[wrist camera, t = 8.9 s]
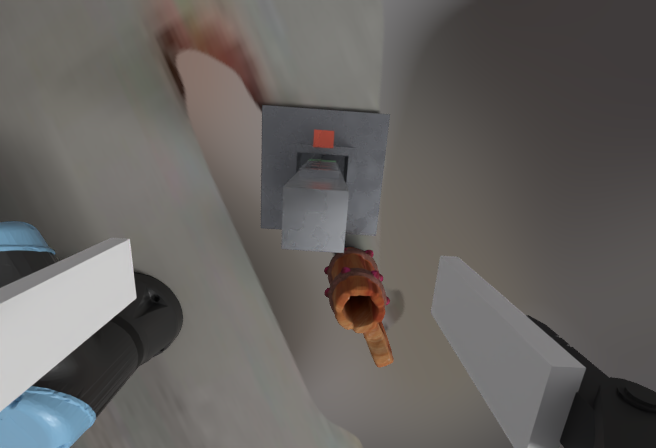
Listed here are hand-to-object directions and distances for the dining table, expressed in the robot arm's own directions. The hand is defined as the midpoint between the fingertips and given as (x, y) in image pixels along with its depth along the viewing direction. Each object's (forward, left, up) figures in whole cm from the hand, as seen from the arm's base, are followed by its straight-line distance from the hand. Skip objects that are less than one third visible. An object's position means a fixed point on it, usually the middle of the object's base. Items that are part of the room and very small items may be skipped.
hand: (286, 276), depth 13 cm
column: (+1, +1, -26) cm, 26 cm away
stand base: (+1, +1, -35) cm, 35 cm away
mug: (+8, -16, -35) cm, 39 cm away
